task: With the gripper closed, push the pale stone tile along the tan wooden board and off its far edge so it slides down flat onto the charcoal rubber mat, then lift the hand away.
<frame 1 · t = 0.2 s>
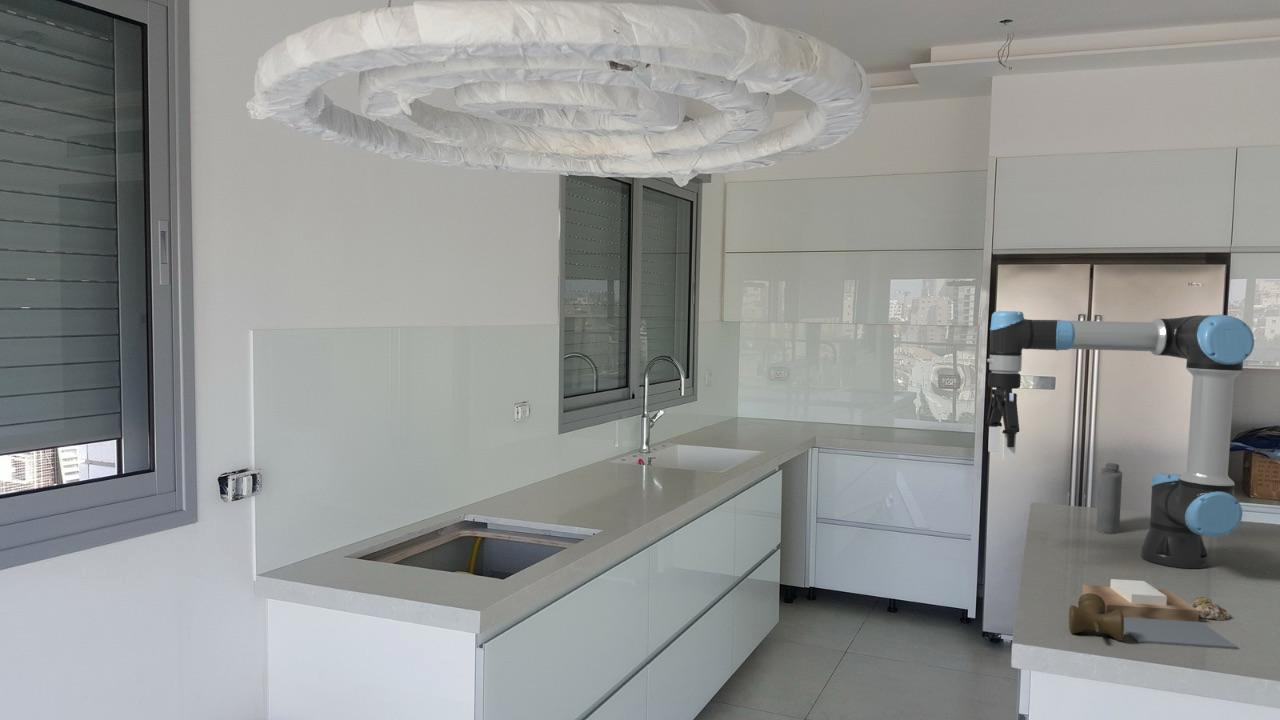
hand: (1001, 455, 223), 28 cm above the counter, tool pointing down, fingers open, 13 cm apart
flask: (1108, 529, 267), on the counter
mat: (1170, 632, 177), on the counter
stone tile: (1137, 596, 192), point 2 cm above the counter, touching tan wooden board
mineral rock: (1206, 615, 190), on the counter
kendama: (1093, 631, 177), on the counter
tan wooden board: (1137, 608, 191), on the counter
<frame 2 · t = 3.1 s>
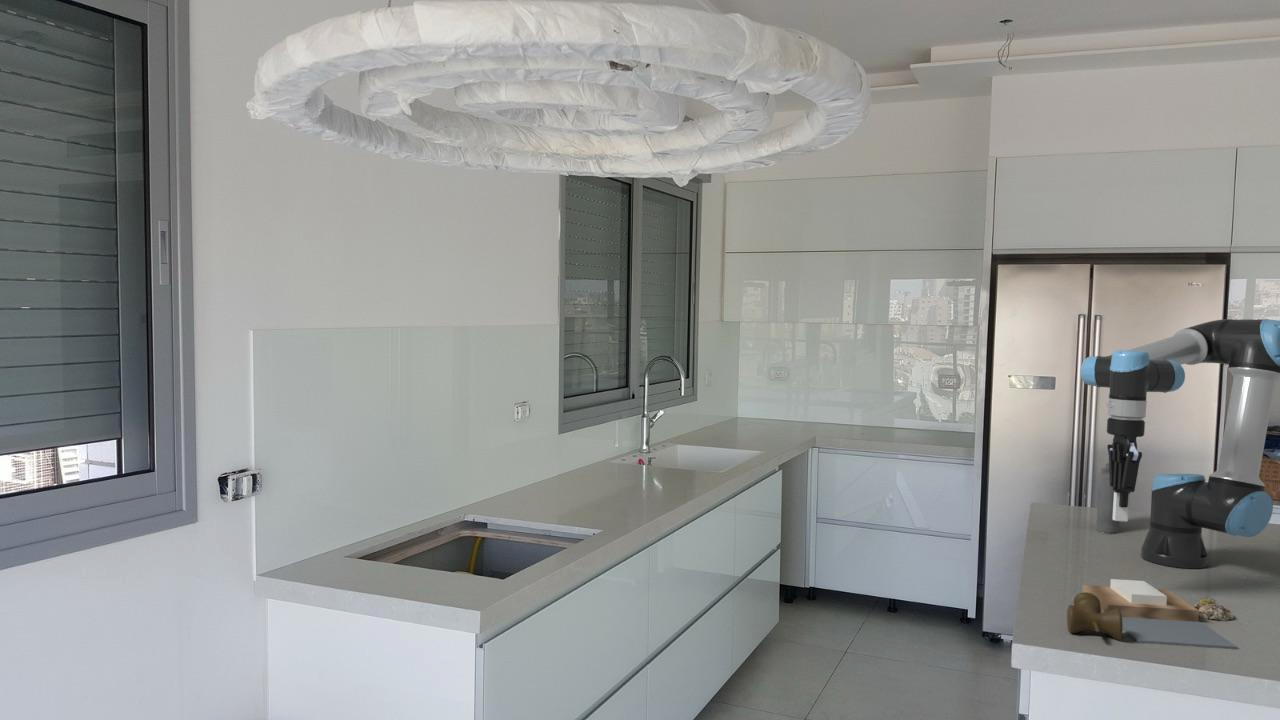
hand: (1119, 520, 201), 17 cm above the counter, tool pointing down, fingers closed
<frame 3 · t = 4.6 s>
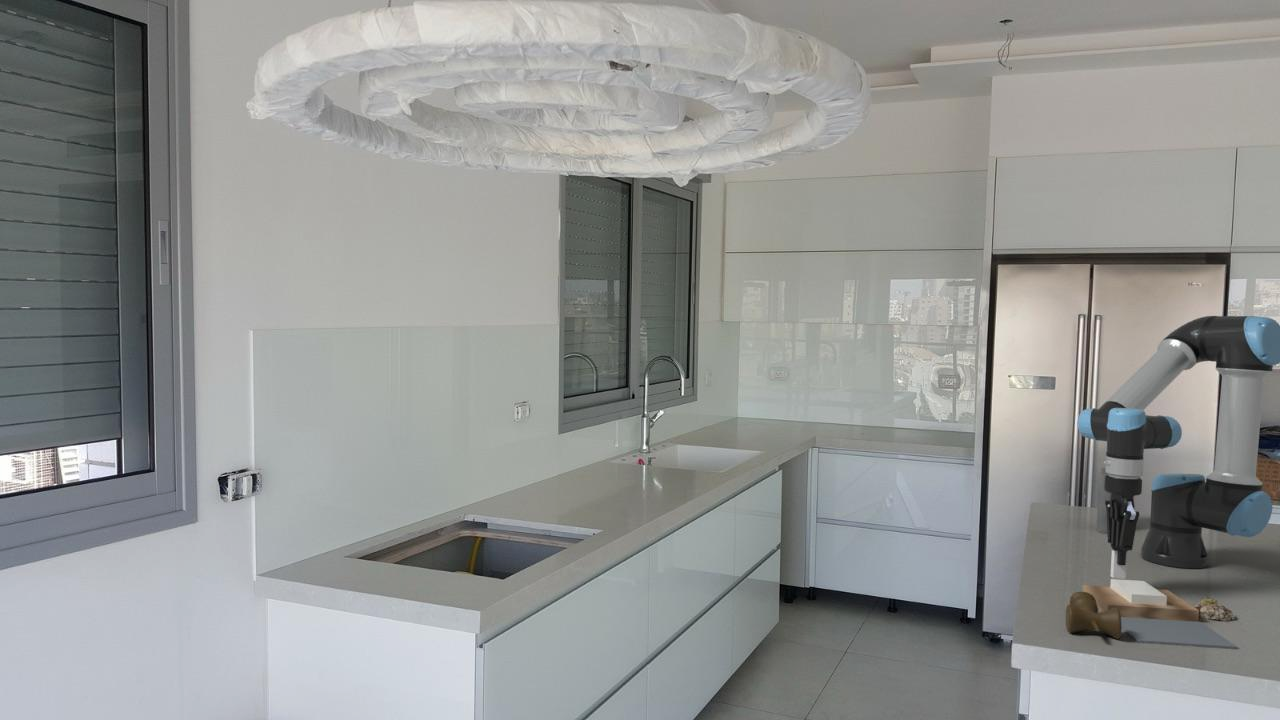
hand: (1118, 577, 202), 4 cm above the counter, tool pointing down, fingers closed
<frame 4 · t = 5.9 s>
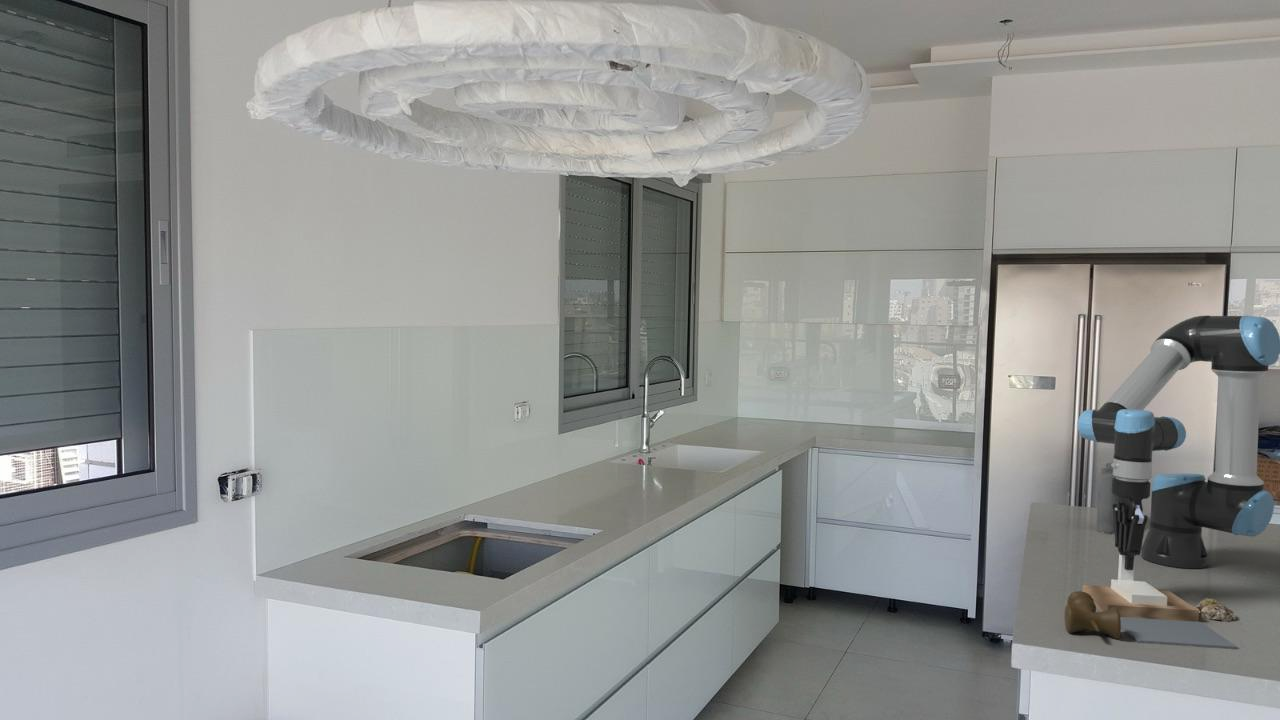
hand: (1125, 582, 198), 4 cm above the counter, tool pointing down, fingers closed
stone tile: (1137, 596, 192), point 3 cm above the counter, touching gripper
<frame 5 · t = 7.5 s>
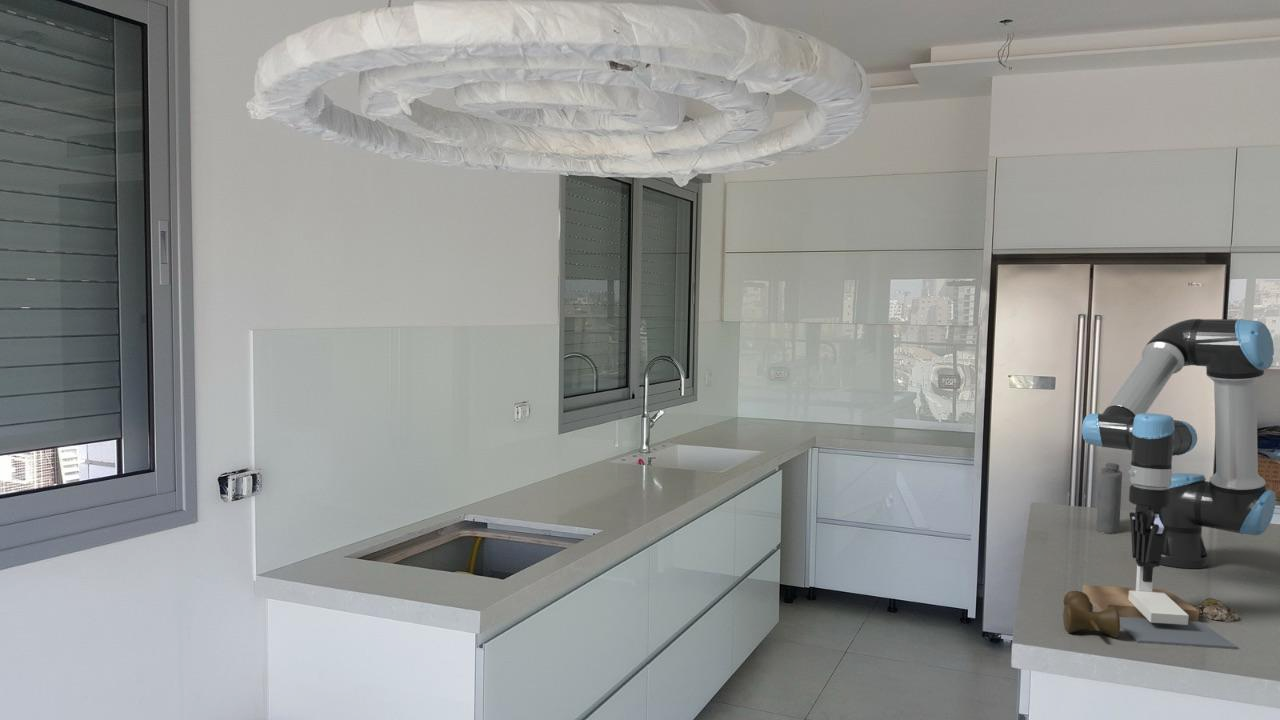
hand: (1143, 595, 188), 4 cm above the counter, tool pointing down, fingers closed
stone tile: (1156, 611, 182), point 2 cm above the counter, tilted 6°
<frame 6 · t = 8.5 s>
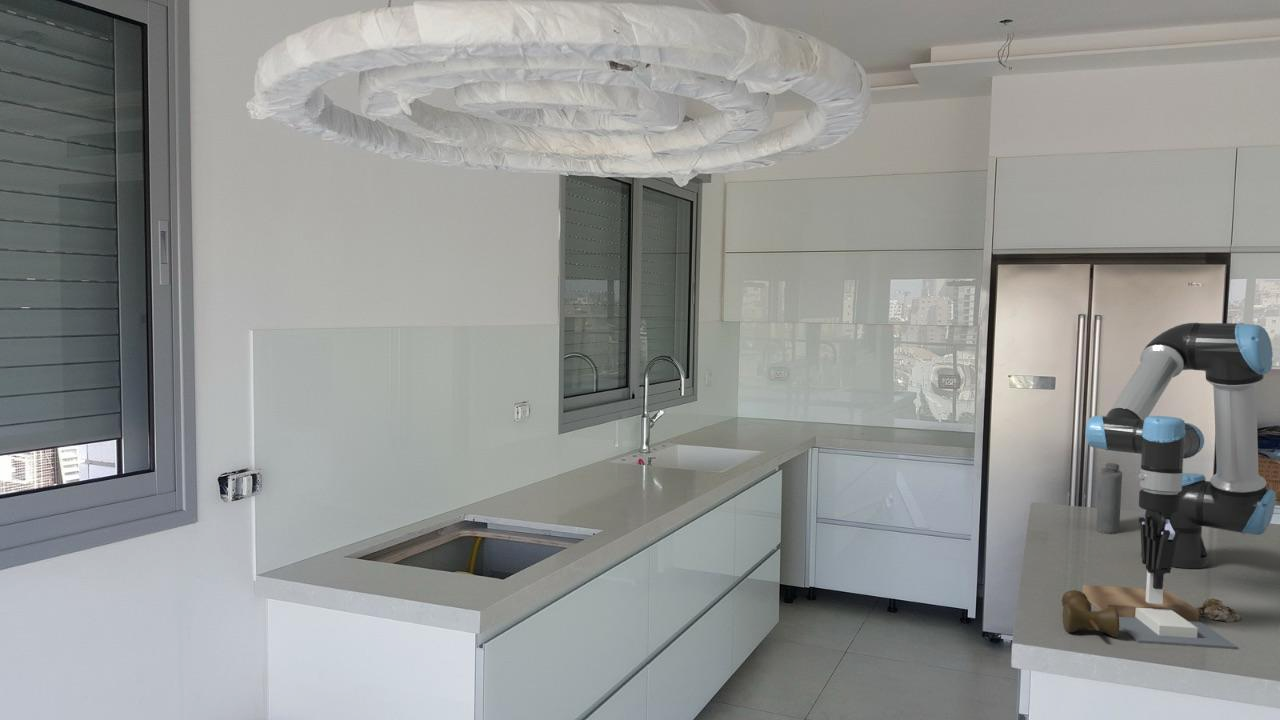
hand: (1153, 602, 184), 4 cm above the counter, tool pointing down, fingers closed
stone tile: (1165, 627, 179), resting on mat
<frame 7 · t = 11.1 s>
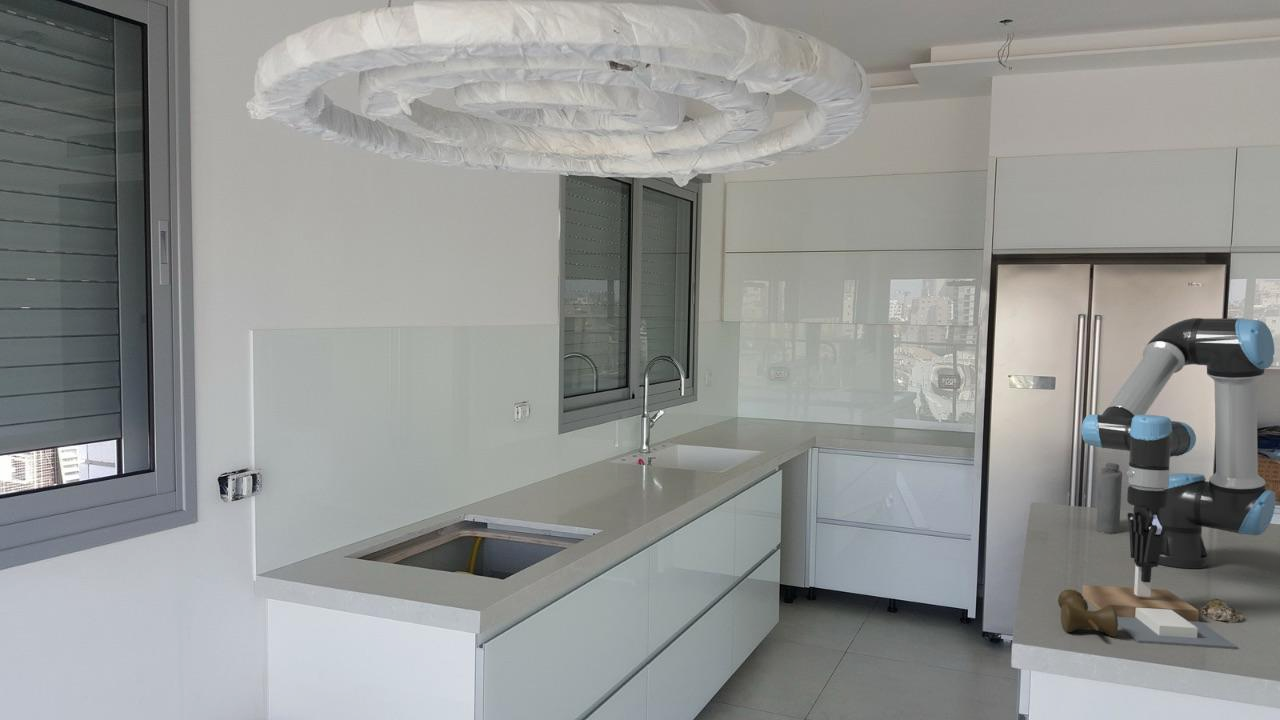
hand: (1142, 595, 190), 3 cm above the counter, tool pointing down, fingers closed
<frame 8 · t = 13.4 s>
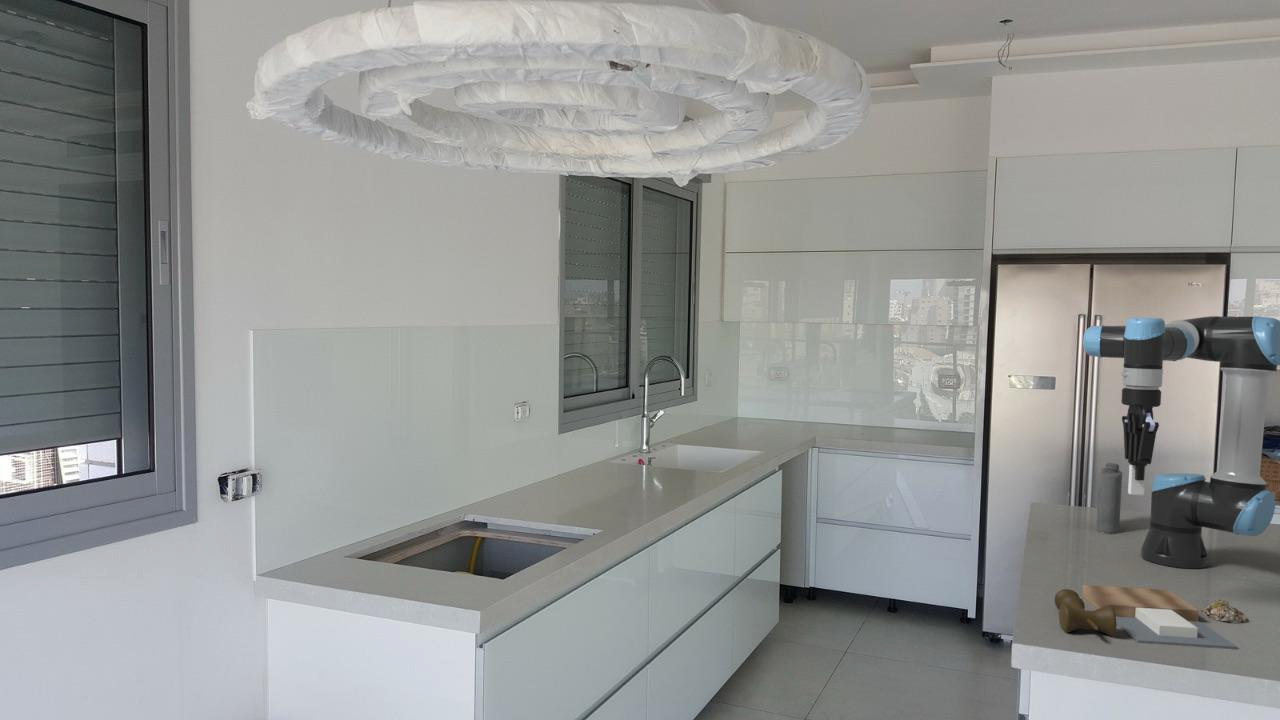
hand: (1135, 493, 194), 24 cm above the counter, tool pointing down, fingers closed
at the end: stone tile resting on mat; stone tile inside the target area on the mat (2.2 cm from its centre), point 0.4 cm above the mat's base; stone tile touching mat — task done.
